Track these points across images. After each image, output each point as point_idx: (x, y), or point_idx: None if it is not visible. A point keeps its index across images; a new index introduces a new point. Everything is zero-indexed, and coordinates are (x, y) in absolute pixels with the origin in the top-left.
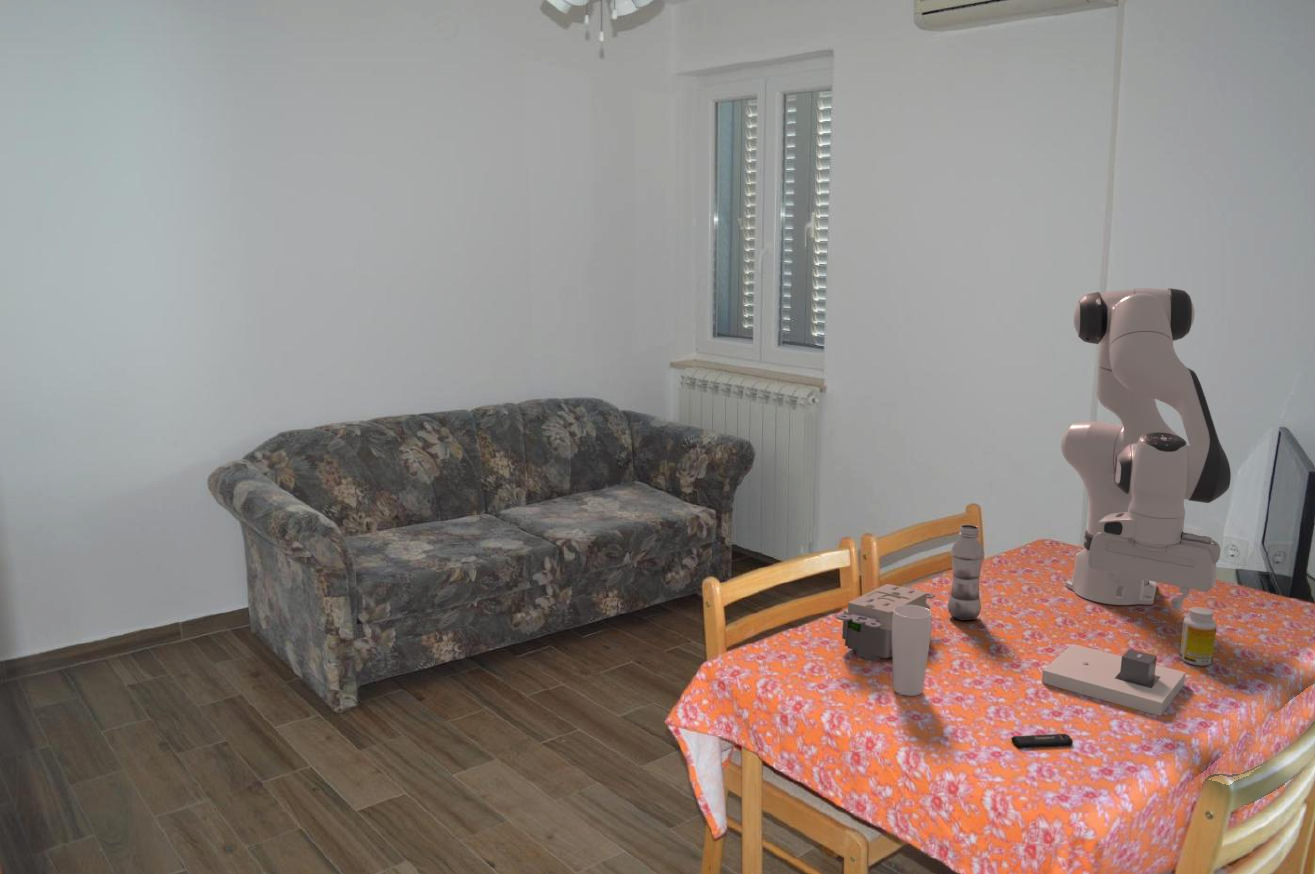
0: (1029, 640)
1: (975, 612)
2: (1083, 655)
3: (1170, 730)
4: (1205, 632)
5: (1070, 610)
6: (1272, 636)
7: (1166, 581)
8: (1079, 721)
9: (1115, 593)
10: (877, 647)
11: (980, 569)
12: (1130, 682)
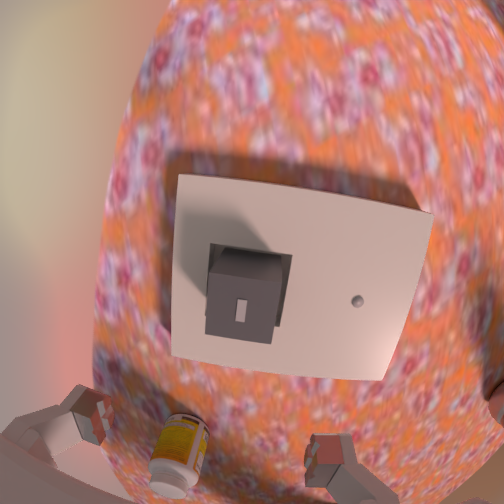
0: (434, 380)
1: (500, 394)
2: (362, 341)
3: (164, 120)
4: (159, 454)
5: None
6: (144, 486)
7: (58, 482)
8: (324, 61)
9: (344, 444)
10: None
11: None
12: (257, 257)
